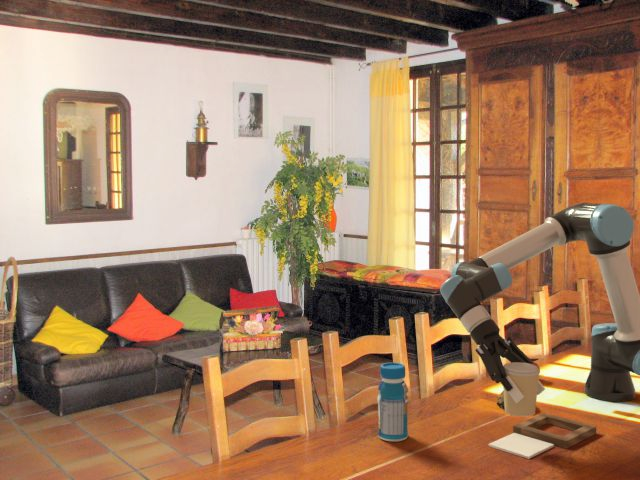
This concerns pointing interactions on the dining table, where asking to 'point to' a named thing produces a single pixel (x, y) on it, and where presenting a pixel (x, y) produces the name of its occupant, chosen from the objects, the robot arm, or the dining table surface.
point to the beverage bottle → (392, 403)
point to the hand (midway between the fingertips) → (531, 396)
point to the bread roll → (501, 400)
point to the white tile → (521, 445)
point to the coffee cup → (522, 388)
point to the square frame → (566, 441)
